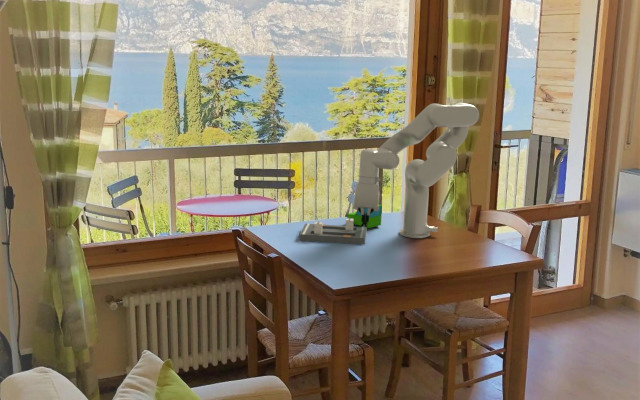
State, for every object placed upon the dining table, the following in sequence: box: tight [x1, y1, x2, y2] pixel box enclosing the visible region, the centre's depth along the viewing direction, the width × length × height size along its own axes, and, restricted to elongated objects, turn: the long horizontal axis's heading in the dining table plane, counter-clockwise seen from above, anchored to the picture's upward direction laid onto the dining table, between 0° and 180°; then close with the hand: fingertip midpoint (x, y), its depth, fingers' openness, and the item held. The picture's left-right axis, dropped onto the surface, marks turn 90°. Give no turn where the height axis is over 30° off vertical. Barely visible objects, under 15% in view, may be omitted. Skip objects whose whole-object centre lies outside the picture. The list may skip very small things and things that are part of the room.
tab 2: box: [345, 217, 354, 230], centre depth 263 cm, size 3×3×5 cm
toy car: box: [346, 204, 383, 230], centre depth 277 cm, size 10×13×10 cm
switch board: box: [298, 222, 368, 245], centre depth 261 cm, size 26×16×3 cm, turn 83°
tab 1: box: [313, 221, 323, 234], centre depth 257 cm, size 3×3×5 cm
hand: (364, 223), depth 262 cm, fingers closed
